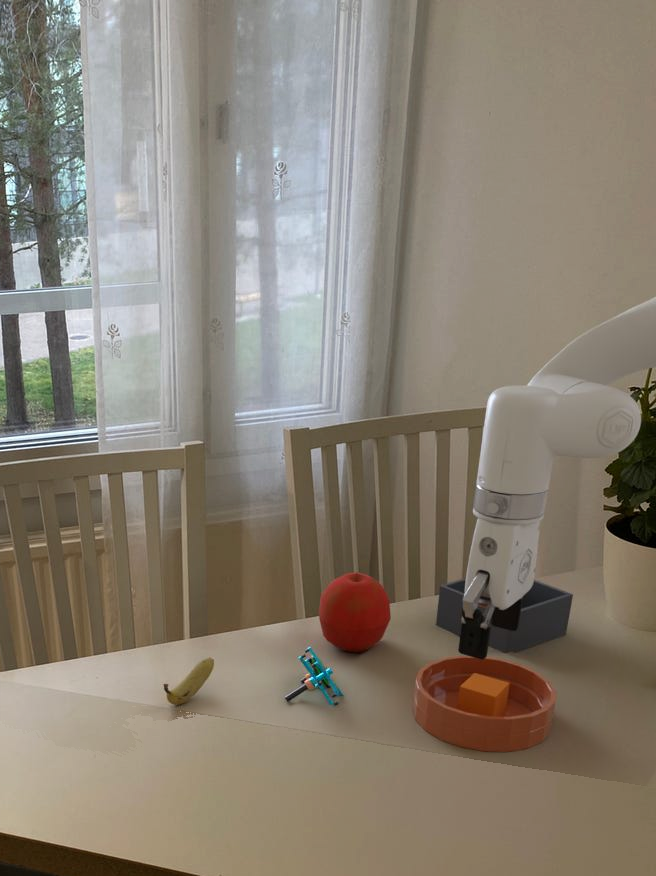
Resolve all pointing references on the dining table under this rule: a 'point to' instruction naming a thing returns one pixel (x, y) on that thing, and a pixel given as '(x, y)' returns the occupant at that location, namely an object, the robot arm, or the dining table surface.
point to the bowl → (511, 732)
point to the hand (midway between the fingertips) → (488, 641)
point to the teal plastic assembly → (315, 678)
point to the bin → (538, 616)
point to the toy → (483, 696)
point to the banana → (190, 683)
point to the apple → (354, 612)
